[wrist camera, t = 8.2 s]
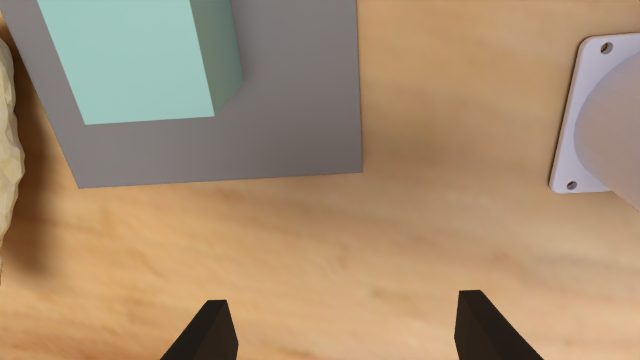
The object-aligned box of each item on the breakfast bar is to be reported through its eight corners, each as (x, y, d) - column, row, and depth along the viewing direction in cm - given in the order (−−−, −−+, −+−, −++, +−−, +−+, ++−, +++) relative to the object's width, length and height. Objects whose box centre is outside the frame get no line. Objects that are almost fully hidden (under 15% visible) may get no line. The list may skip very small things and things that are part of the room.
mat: (346, -239, 14) (346, -247, 13) (362, 167, 21) (362, 172, 21) (-71, -180, 15) (-86, -186, 14) (84, 183, 22) (78, 188, 22)
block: (223, -37, 16) (180, -41, 12) (244, 81, 19) (214, 116, 14) (109, -27, 17) (26, -25, 12) (144, 89, 19) (85, 124, 15)
